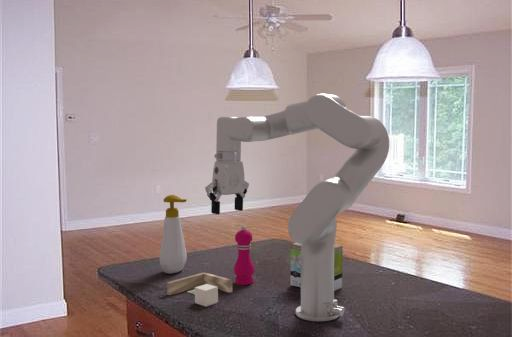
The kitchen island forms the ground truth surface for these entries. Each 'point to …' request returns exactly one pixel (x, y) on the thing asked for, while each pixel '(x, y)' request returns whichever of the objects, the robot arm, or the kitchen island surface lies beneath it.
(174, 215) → the soap bottle
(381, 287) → the kitchen island surface
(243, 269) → the pepper mill
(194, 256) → the kitchen island surface
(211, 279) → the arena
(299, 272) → the tea box
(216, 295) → the cube
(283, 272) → the kitchen island surface
